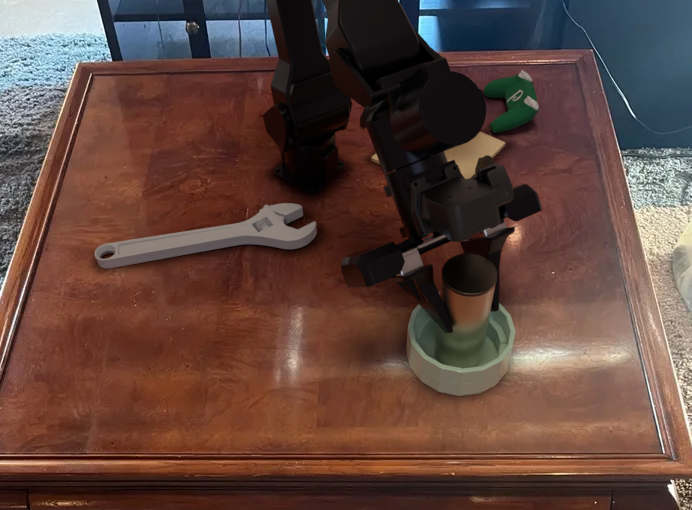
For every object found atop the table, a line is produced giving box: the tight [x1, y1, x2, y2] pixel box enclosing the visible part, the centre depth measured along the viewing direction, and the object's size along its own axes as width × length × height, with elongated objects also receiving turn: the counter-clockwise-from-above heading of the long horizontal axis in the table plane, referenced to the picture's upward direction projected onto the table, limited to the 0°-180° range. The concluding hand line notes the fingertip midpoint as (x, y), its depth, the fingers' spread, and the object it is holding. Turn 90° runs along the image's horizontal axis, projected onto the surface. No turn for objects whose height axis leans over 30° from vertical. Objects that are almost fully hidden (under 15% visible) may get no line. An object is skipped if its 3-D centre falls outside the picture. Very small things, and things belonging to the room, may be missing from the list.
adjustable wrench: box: [94, 202, 318, 269], centre depth 93 cm, size 25×6×2 cm, turn 96°
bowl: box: [405, 290, 517, 397], centre depth 80 cm, size 10×10×4 cm
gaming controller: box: [483, 69, 540, 134], centre depth 104 cm, size 9×4×6 cm
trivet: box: [370, 131, 506, 179], centre depth 101 cm, size 12×12×1 cm
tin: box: [434, 253, 497, 368], centre depth 77 cm, size 5×5×12 cm
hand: (472, 321), depth 75 cm, fingers closed on tin, 5 cm apart
